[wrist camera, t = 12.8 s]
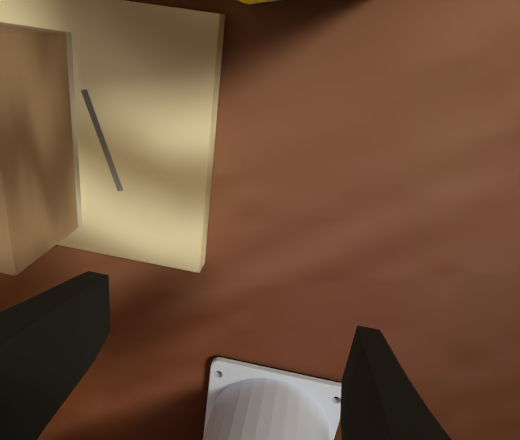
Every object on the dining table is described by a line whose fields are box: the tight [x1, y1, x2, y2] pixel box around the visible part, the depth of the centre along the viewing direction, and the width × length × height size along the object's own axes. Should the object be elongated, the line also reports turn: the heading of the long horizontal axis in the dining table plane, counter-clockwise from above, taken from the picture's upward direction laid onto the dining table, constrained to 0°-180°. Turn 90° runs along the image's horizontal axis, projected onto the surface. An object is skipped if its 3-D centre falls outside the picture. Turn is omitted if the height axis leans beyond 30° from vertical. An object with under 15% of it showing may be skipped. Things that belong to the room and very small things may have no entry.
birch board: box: [0, 0, 225, 273], centre depth 20 cm, size 12×17×1 cm
